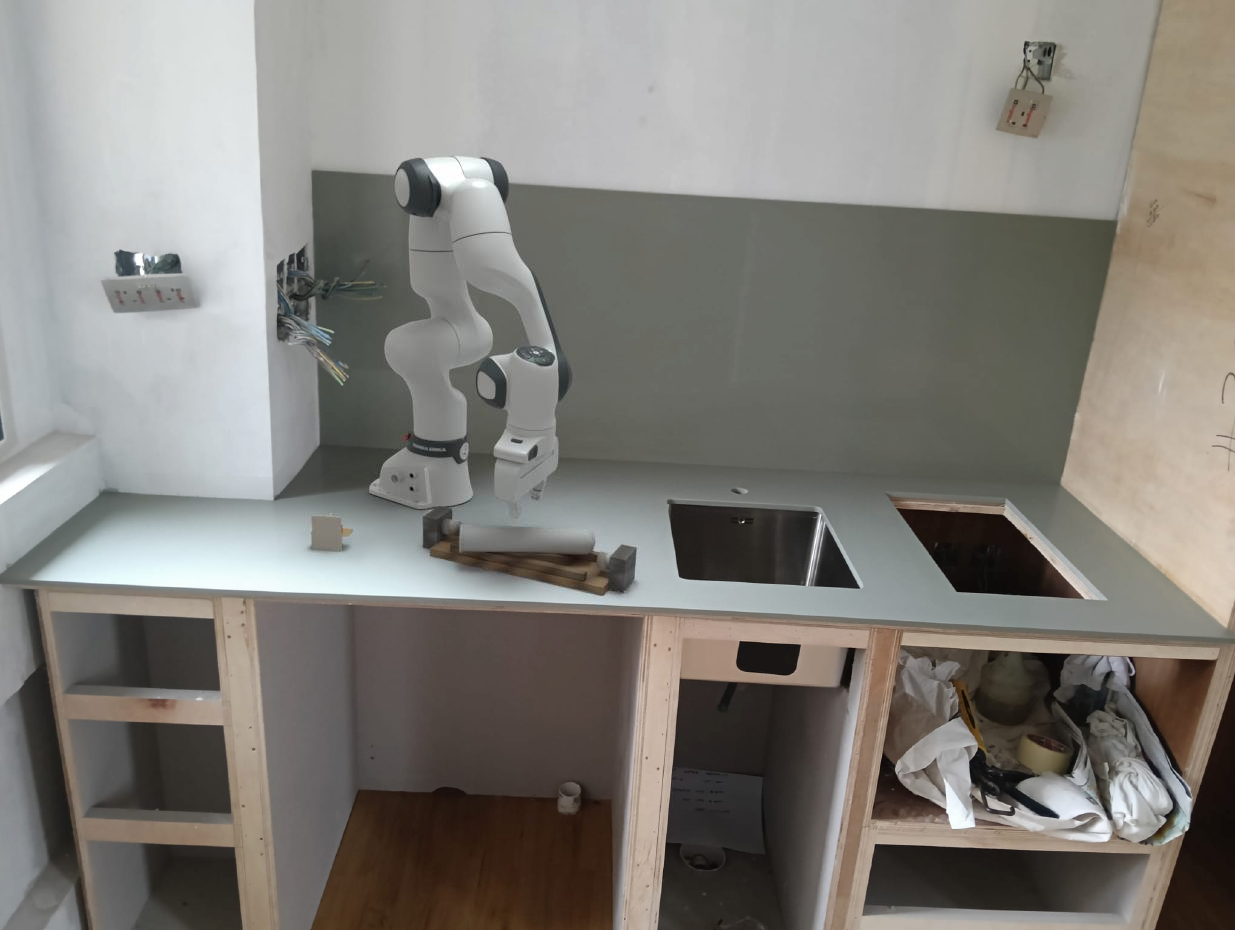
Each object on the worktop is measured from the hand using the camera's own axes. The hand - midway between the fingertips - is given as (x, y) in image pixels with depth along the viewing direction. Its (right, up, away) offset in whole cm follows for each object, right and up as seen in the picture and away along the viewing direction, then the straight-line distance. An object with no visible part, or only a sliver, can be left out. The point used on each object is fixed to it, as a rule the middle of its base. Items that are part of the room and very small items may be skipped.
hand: (525, 507), depth 183 cm
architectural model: (-38, -9, +4) cm, 39 cm away
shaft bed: (0, -11, +3) cm, 11 cm away
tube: (0, -8, +1) cm, 9 cm away
